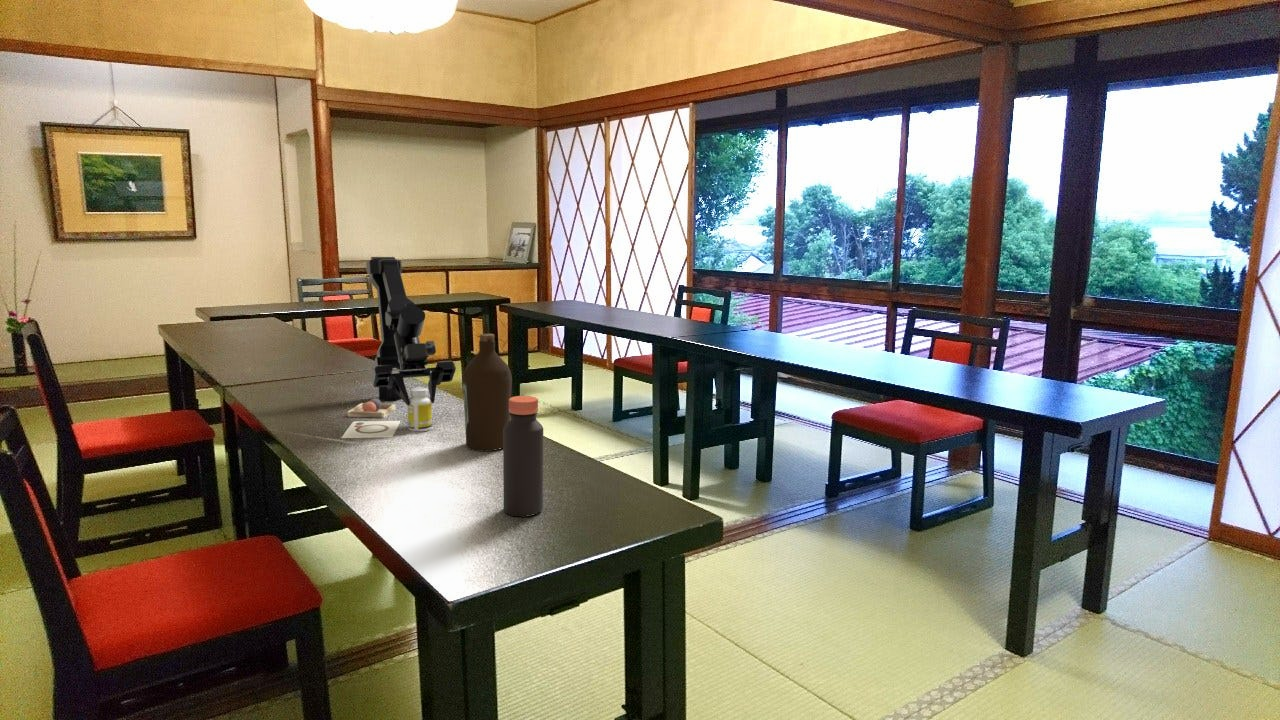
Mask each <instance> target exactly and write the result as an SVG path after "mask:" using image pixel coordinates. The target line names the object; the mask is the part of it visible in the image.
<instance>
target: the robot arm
mask: <svg viewBox="0 0 1280 720" xmlns="http://www.w3.org/2000/svg"><path fill="white" fill-rule="evenodd" d="M365 263H366V265H365V268H366V274H367V275H368V277H369V282H370V284H372V286H373V287H374V288H375V289H376V293H377V303H378V314H379V315H378V317H379V326H380V336H381V337H380V338H381V344H380V345H379V347H378V350H377V351H376V357H375V359H374V364H373V372H372V376H371V380H372V381H371V382H372V386H373V388H378V396H377V397H375V398H376V399H379V400H380V401H387V402H397V401H400V400H402V401H403V402H404V403H405V405H406V406H407V407H408V405H409V404H410V403H409V398H410V397H409V394H408V391H407V388H406V385H405V382H404V380H405V379H410V378H411V379H412V378H413V379H414V378H425V377H428V378H429V380H428V384H427V388H428V395H429V398H430V399H431V404H435V398H436V391H437V386H440V385H441V384H442V383H447V382H448V383H449V382H452V381H453V379H454V375H455V373H456V370H457V368H456V364H455V362H454V361H453V360H441V361H439V360H438V361H436V365H435V367H426V366H427V365H428V363H429V361H428V358H429V357H430V356H434V355H435V354H436V353H437V350H436V345H435V341H434V340H427V341H425V343H422V342H420V336H421V335H422V331H423V327H424V323H425V320H426V313H425V311H424V310H423V309H422V308H420V307H418V306H416V305H415V302H414V301H412V300H411V299H410V298H408V297H407V294H406V289H405V285H404V282H403V279H402V277H403V276H402V274H403V271H402V269H403V268H402V260H400V259H396V258H395V256H371V257H370V260H367V261H366V262H365Z"/></svg>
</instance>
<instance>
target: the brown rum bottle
mask: <svg viewBox="0 0 1280 720" xmlns="http://www.w3.org/2000/svg"><path fill="white" fill-rule="evenodd" d="M478 347H479V351H478V352H477V354H476V355H475V356H474V357H473V358H472V359H471V360H470V361H469V363H467V365H466V366H465V368H464V371H463V374H462V381H461V382H462V394H463V409H464V410H463V411H464V425H465V429H464V430H465V446H466V447H467V448H468V449H469V448H470V450H472V449H473V451H476V450H480V451H479V452H487V451H486V450H494V449H499V448H503V428H504V426H505V425H506V424H507V423H508V422H509V421H510V420H511V415H509V413H510V412H509V399H510V398H511V397H512V384H513V383H512V382H513V377H512V372H511V369H510V366H509V365H508V364H507V363H506V362H505V361H504V360H503V359H502V357H501V356H499V355H498V354H497V352H496V341H495V334H494V333H480V334H479V341H478ZM481 450H482V451H481Z"/></svg>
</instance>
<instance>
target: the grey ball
mask: <svg viewBox="0 0 1280 720" xmlns="http://www.w3.org/2000/svg"><path fill="white" fill-rule="evenodd" d="M368 402H373V403H374V404H375V405H376V411H377V410H379V409H380V408H381V404H382V400H379V399H376V397H374V398H371V399H370V400H369V401H368Z"/></svg>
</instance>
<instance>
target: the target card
mask: <svg viewBox="0 0 1280 720" xmlns="http://www.w3.org/2000/svg"><path fill="white" fill-rule="evenodd" d="M400 423H401V420H369V421H368V420H367V421H366V420H364V421H363V420H362V421H361V420H358V421H356V420H355V421H354V420H353V421H352V423H351V424H350V425H349V426H348V428H347V430H346V431H345V432H344V433H343V435H342V436H341V437H340V439H365V438H370V439H372V438H373V439H374V438H393V437H394V435H395V433H396V431H397V428H398V426H399V425H400Z"/></svg>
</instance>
